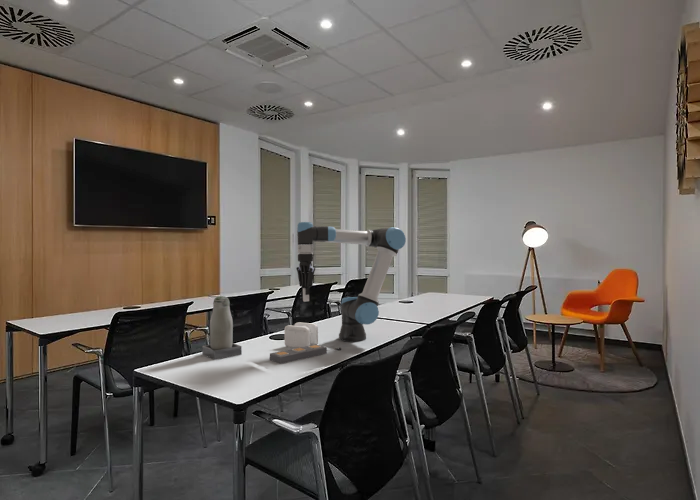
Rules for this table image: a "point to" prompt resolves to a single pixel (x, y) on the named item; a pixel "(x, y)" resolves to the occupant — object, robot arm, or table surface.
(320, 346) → the button
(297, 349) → the button
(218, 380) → the table surface
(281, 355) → the button
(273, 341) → the table surface
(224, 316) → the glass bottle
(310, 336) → the cable organizer
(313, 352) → the power strip
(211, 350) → the bottle coaster rim
